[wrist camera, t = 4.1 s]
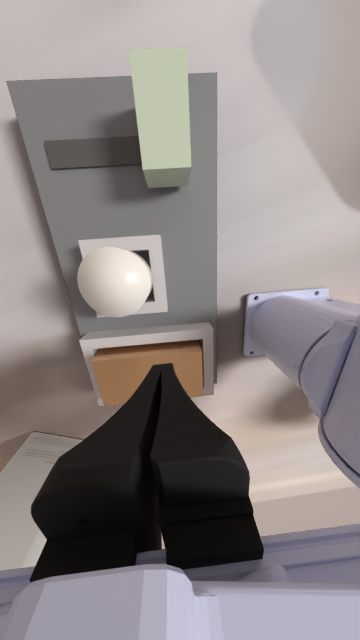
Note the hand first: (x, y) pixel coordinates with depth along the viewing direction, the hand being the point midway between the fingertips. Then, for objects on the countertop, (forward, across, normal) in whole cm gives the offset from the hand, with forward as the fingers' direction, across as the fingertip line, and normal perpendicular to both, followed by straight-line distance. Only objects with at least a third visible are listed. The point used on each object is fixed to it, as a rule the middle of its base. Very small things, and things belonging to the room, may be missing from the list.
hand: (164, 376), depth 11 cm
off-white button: (+5, +3, -6) cm, 8 cm away
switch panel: (+9, +2, -6) cm, 11 cm away
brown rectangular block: (+7, +2, +3) cm, 7 cm away
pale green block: (+7, -2, -15) cm, 17 cm away
